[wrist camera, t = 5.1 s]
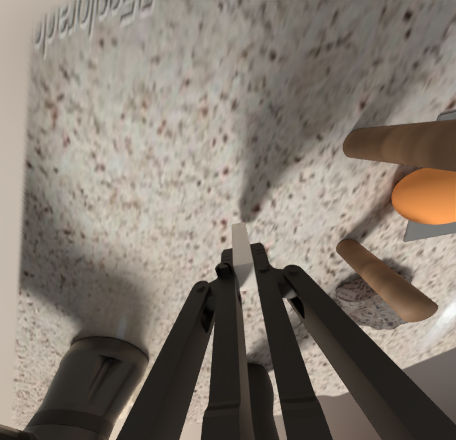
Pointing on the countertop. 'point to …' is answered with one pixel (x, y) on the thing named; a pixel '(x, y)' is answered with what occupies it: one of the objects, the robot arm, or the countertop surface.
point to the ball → (427, 196)
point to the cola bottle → (261, 403)
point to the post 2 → (387, 283)
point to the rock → (367, 305)
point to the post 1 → (406, 144)
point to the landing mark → (428, 230)
